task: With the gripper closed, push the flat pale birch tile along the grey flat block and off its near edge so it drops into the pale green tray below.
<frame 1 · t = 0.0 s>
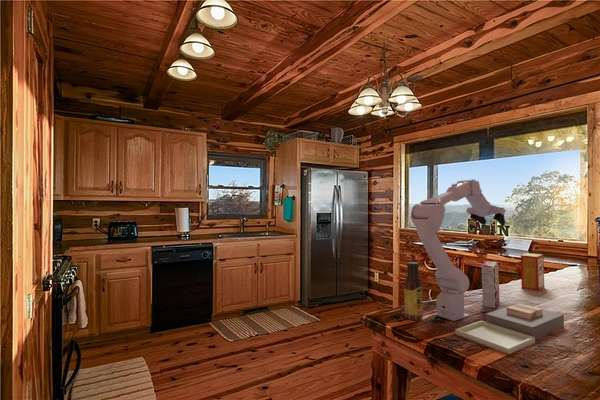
hand: (494, 223, 133), 32 cm above the table, tool tilted 50°, fingers open, 7 cm apart
candy bar box: (491, 304, 131), on the table
grey flat block: (524, 326, 107), on the table
baking soda box: (533, 288, 153), on the table
tray: (493, 338, 98), on the table
tile: (524, 314, 107), point 4 cm above the table, touching grey flat block
sauce bottle: (414, 318, 117), on the table
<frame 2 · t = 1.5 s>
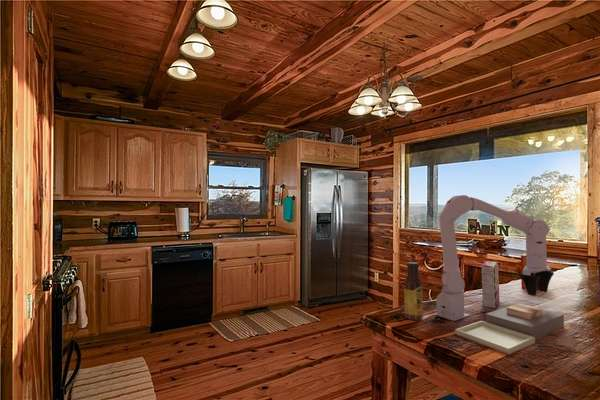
hand: (537, 293, 112), 9 cm above the table, tool pointing down, fingers open, 7 cm apart
nothing on the table moved.
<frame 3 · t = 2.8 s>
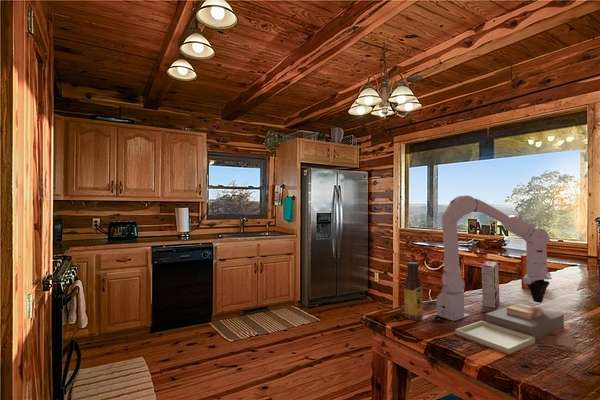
hand: (537, 301, 112), 7 cm above the table, tool pointing down, fingers closed
nothing on the table moved.
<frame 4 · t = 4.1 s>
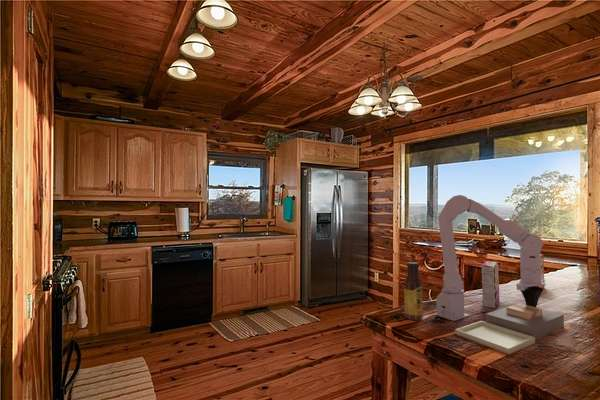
hand: (531, 308, 110), 5 cm above the table, tool pointing down, fingers closed
tile: (524, 314, 107), point 4 cm above the table, touching grey flat block, gripper
everything else where it was.
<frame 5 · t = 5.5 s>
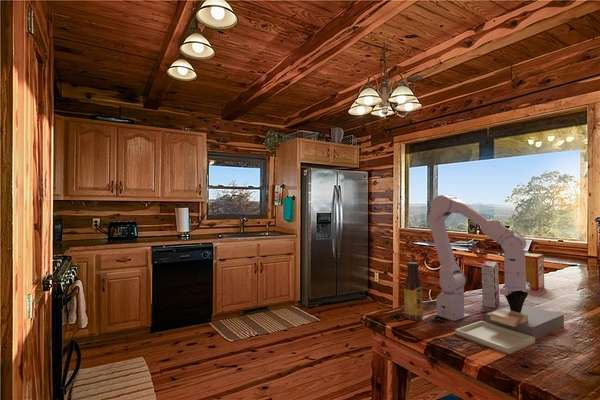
hand: (515, 314, 105), 5 cm above the table, tool pointing down, fingers closed
tile: (508, 320, 102), point 4 cm above the table, touching grey flat block, gripper
everything else where it was.
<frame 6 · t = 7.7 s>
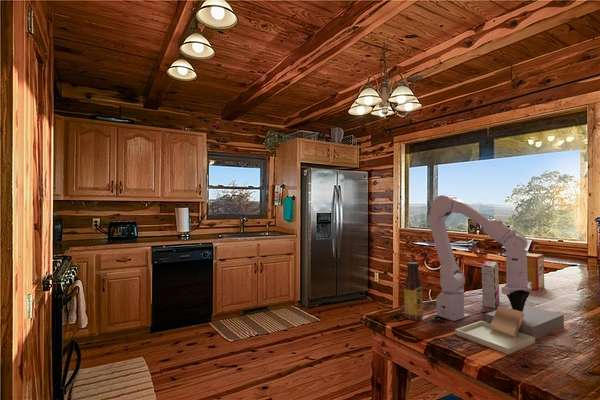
hand: (517, 313, 105), 5 cm above the table, tool pointing down, fingers closed
tile: (508, 322, 102), point 3 cm above the table, tilted 48°, touching grey flat block, tray
everything else where it was.
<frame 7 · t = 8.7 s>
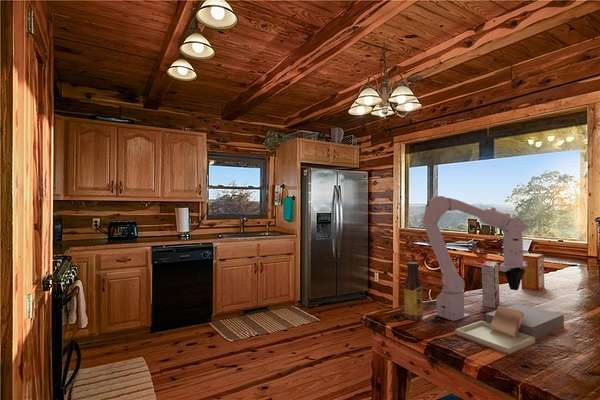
hand: (514, 289, 114), 10 cm above the table, tool pointing down, fingers closed
nothing on the table moved.
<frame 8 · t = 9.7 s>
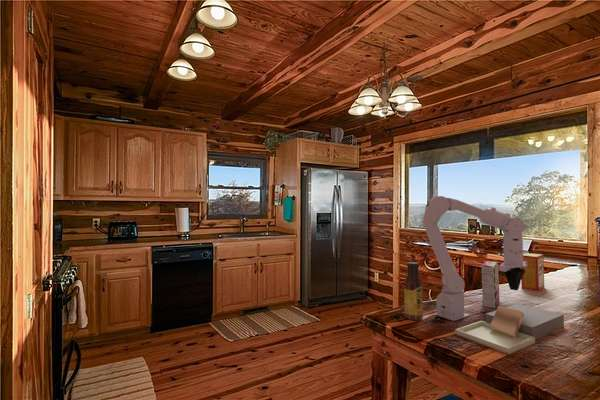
hand: (514, 289, 114), 10 cm above the table, tool pointing down, fingers closed
nothing on the table moved.
at the end: tile inside the target area (7.4 cm from its centre), point 3.3 cm above the table; tile touching grey flat block, tray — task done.
